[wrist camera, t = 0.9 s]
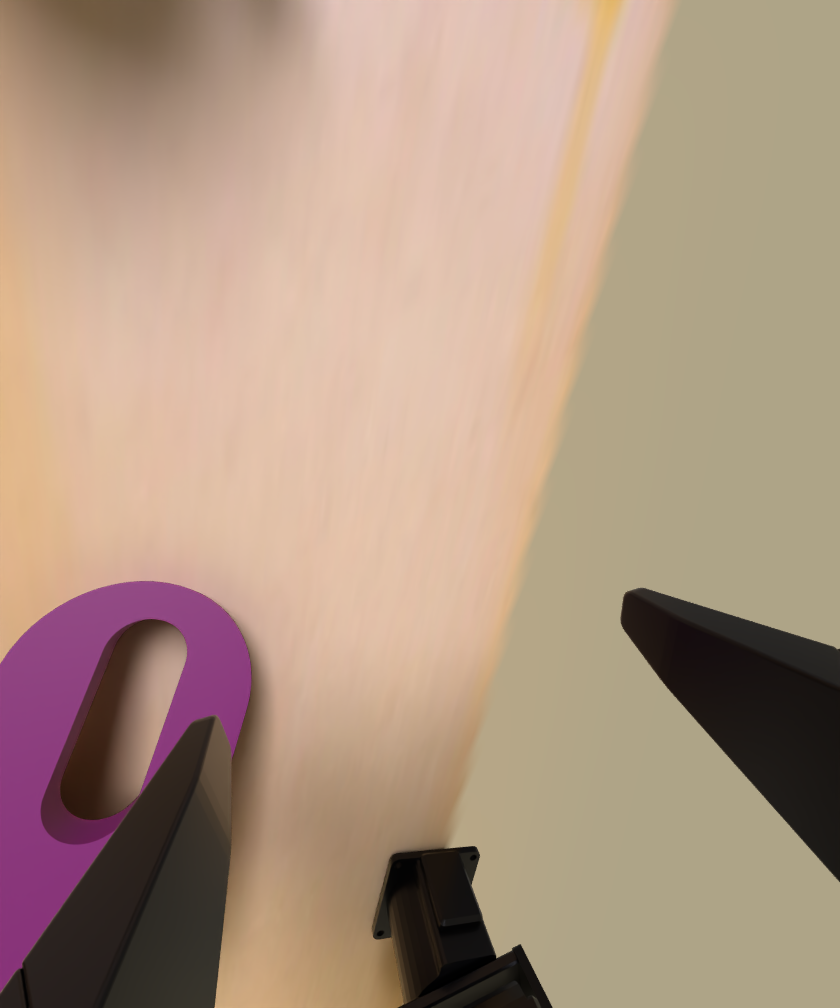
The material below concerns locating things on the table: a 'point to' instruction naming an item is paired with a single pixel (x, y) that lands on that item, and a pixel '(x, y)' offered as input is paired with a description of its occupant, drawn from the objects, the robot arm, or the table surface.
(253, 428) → the table surface
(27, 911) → the mounting bracket
